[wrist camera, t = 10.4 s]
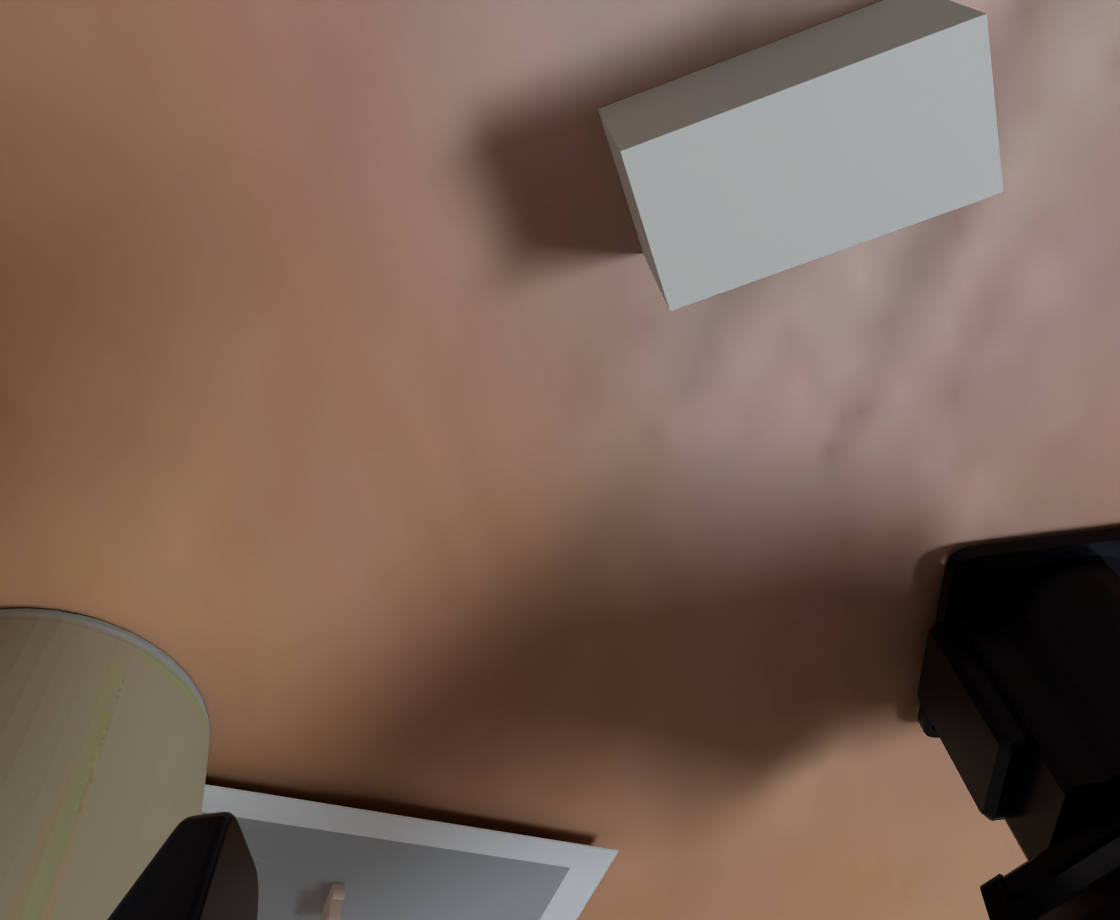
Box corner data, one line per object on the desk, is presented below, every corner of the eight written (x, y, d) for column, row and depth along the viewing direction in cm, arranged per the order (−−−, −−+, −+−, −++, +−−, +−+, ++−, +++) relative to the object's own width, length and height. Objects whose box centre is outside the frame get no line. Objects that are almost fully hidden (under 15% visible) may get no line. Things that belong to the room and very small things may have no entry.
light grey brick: (910, -14, 18) (986, 13, 15) (931, 144, 20) (1003, 192, 17) (595, 106, 19) (620, 151, 16) (641, 250, 20) (670, 310, 18)
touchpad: (91, 732, 26) (65, 799, 24) (613, 819, 30) (624, 883, 28) (56, 909, 30) (31, 979, 28) (525, 966, 34) (530, 1030, 32)
